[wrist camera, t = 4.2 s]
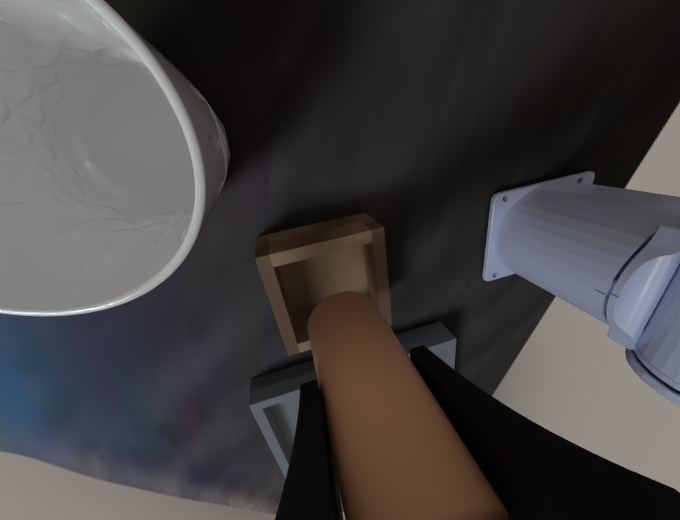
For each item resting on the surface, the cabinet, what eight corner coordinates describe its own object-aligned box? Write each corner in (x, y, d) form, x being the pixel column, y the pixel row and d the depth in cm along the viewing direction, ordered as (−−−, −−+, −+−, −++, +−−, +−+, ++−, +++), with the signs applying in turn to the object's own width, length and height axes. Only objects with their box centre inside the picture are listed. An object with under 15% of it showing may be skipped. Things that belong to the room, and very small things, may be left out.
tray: (439, 320, 25) (456, 338, 23) (437, 405, 31) (450, 425, 29) (250, 379, 22) (248, 405, 20) (287, 459, 28) (289, 486, 26)
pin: (375, 282, 14) (520, 484, 6) (381, 339, 15) (498, 549, 8) (300, 303, 13) (347, 558, 5) (315, 359, 15) (368, 610, 7)
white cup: (254, 207, 17) (238, 287, 8) (114, 224, 15) (-97, 346, 6) (221, 53, 13) (126, -111, 4) (35, 56, 12) (-667, -183, 3)
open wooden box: (364, 212, 19) (383, 227, 15) (374, 298, 22) (391, 324, 19) (257, 236, 17) (254, 258, 14) (285, 323, 21) (288, 356, 18)
